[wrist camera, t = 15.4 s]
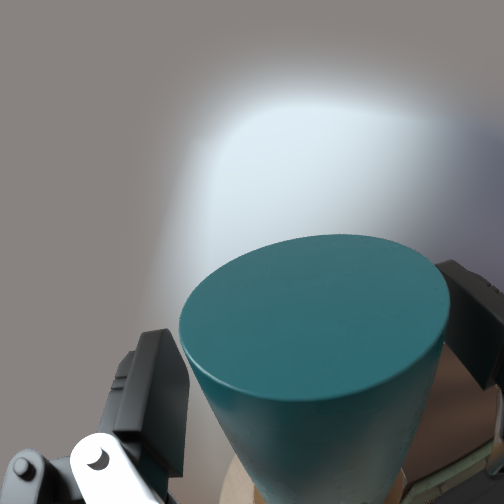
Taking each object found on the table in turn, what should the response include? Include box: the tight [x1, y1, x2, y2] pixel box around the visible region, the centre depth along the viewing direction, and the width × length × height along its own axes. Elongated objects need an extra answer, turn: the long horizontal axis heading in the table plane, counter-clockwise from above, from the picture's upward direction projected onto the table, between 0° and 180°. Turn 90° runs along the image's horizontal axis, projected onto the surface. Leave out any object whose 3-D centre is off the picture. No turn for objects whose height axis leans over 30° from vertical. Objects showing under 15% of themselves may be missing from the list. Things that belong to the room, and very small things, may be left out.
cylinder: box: [179, 234, 451, 504], centre depth 9 cm, size 6×6×12 cm
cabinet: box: [399, 343, 498, 503], centre depth 24 cm, size 14×13×9 cm
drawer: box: [399, 439, 494, 504], centre depth 20 cm, size 17×11×7 cm
